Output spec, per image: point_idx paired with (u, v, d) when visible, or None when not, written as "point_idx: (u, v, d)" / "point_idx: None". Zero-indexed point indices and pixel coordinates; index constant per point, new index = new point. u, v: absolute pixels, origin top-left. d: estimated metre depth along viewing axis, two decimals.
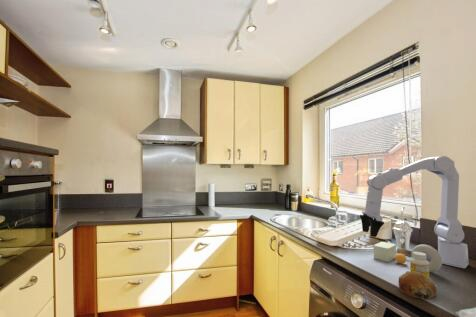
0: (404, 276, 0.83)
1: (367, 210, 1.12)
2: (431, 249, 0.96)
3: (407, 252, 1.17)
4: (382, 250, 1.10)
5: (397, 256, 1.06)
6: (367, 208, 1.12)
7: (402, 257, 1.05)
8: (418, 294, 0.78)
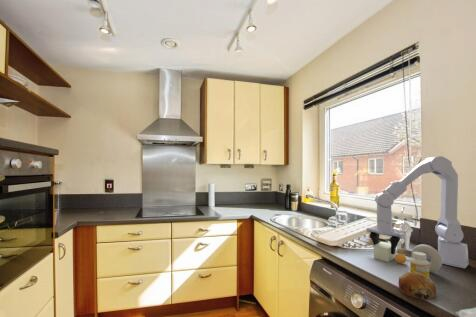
0: (404, 276, 0.83)
1: (384, 230, 1.12)
2: (431, 249, 0.96)
3: (407, 252, 1.17)
4: (382, 250, 1.10)
5: (397, 256, 1.06)
6: (384, 228, 1.12)
7: (402, 257, 1.05)
8: (418, 294, 0.78)
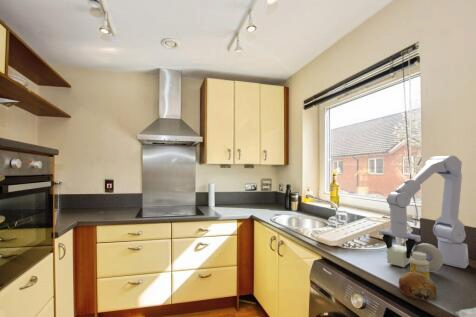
0: (404, 277, 0.83)
1: (399, 232, 1.03)
2: (433, 247, 0.97)
3: None
4: (396, 254, 1.02)
5: None
6: (399, 230, 1.03)
7: None
8: (418, 295, 0.77)
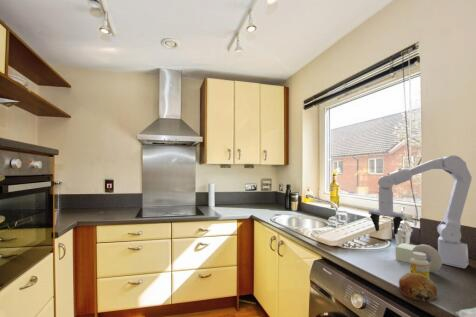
0: (405, 278, 0.82)
1: (386, 210, 1.16)
2: (431, 249, 0.96)
3: None
4: (405, 251, 1.09)
5: None
6: (386, 208, 1.16)
7: None
8: (419, 296, 0.77)
